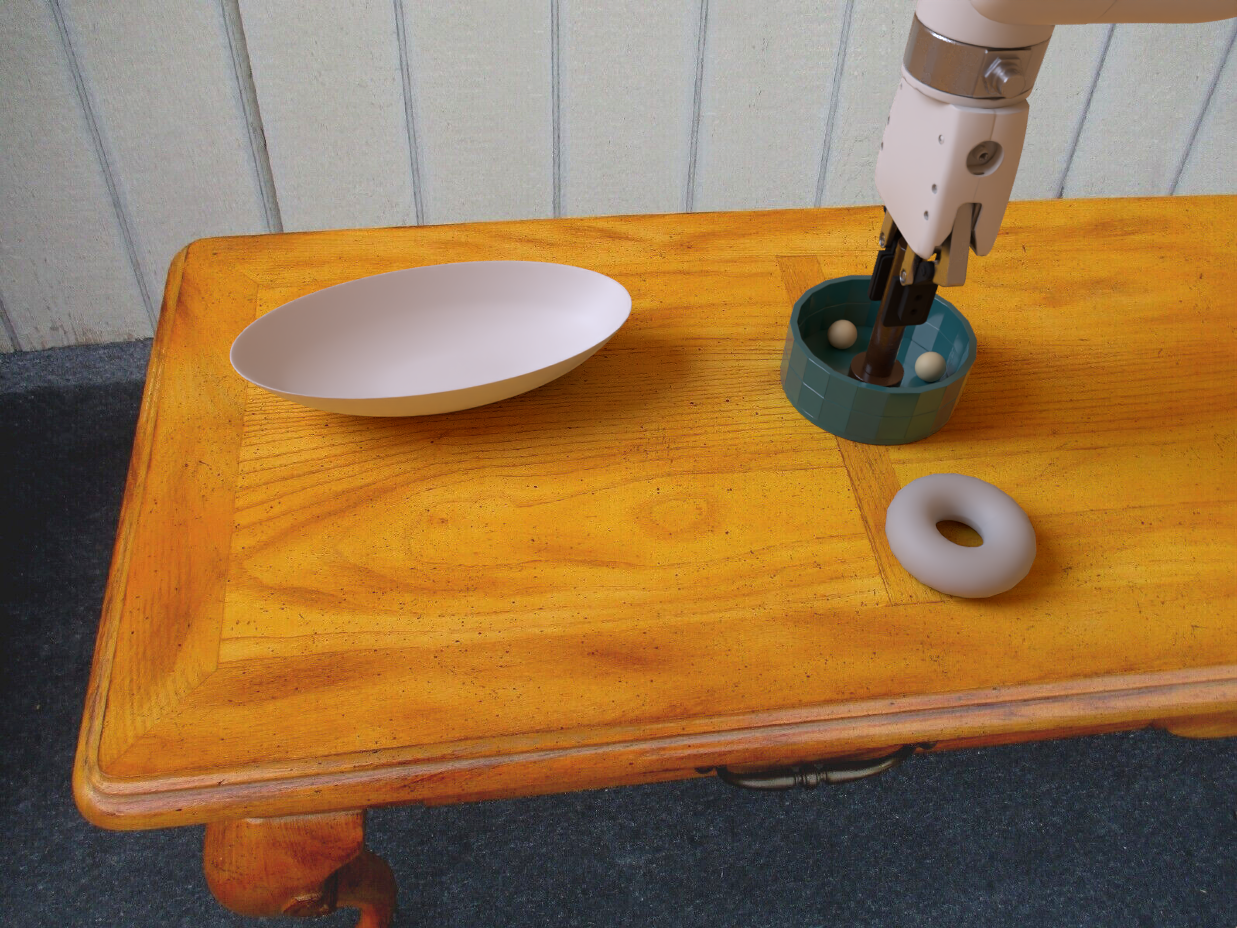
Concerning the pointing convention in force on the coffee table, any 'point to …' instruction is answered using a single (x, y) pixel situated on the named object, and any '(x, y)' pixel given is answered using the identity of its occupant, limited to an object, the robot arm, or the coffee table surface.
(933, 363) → the chickpea
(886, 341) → the muddler
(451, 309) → the bowl
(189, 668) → the coffee table surface
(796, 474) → the coffee table surface
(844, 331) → the chickpea
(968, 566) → the donut
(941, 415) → the mixing bowl
